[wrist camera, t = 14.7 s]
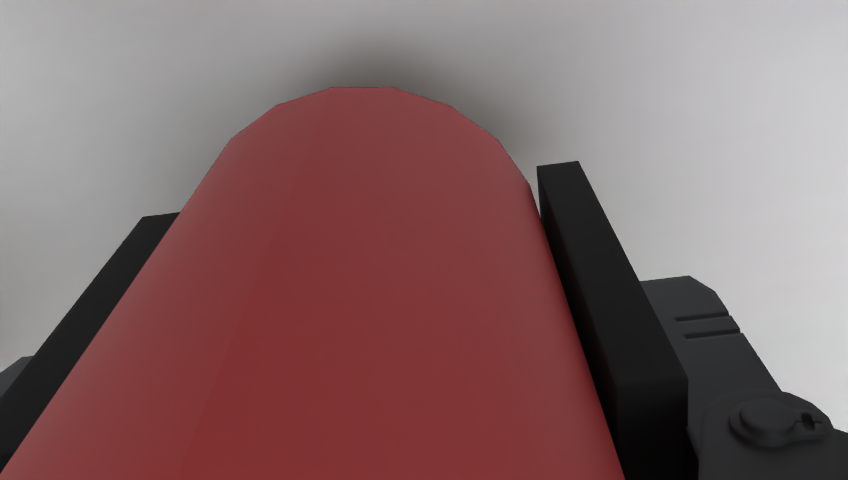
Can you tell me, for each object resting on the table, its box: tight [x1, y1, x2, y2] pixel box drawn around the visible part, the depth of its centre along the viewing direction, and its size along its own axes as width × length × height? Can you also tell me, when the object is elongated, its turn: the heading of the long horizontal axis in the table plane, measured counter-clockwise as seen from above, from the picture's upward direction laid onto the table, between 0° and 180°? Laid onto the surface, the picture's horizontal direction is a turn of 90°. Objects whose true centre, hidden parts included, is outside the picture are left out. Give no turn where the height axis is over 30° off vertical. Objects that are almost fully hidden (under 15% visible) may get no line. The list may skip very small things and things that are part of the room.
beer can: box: [0, 87, 625, 480], centre depth 10 cm, size 7×7×12 cm
